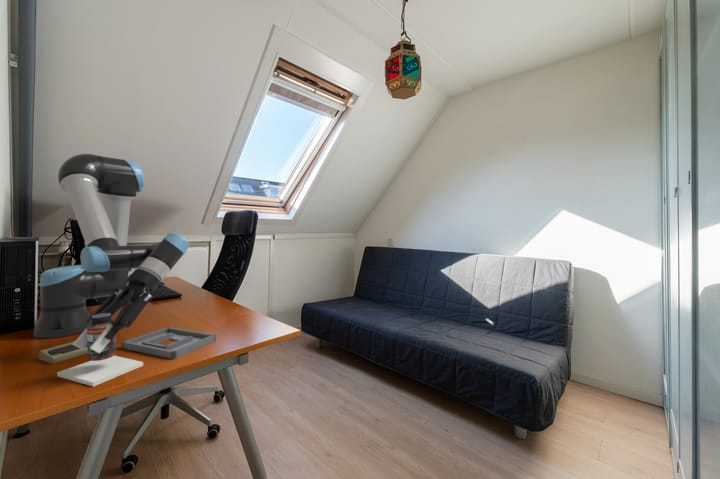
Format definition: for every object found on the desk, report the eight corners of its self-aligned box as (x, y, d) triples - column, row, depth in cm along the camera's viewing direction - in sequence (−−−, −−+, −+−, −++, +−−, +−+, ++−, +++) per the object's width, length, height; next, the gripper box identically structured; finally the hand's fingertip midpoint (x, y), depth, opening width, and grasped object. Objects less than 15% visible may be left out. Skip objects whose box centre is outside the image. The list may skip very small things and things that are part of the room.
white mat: (57, 376, 78) (57, 372, 78) (109, 357, 89) (109, 354, 89) (93, 386, 73) (93, 382, 73) (143, 365, 84) (143, 362, 84)
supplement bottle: (113, 350, 85) (112, 310, 85) (119, 356, 81) (119, 314, 81) (85, 357, 80) (84, 315, 80) (90, 364, 77) (89, 319, 76)
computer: (53, 366, 84) (52, 354, 84) (38, 360, 88) (37, 349, 87) (116, 346, 99) (116, 336, 99) (101, 342, 102) (101, 332, 102)
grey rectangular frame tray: (121, 348, 96) (121, 342, 96) (168, 332, 111) (168, 326, 111) (173, 359, 89) (173, 352, 89) (216, 340, 104) (216, 334, 104)
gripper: (179, 285, 92) (122, 360, 77) (135, 280, 98) (75, 349, 83) (163, 269, 86) (98, 347, 72) (117, 266, 93) (49, 337, 78)
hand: (86, 348), depth 77 cm, fingers closed on supplement bottle, 6 cm apart
